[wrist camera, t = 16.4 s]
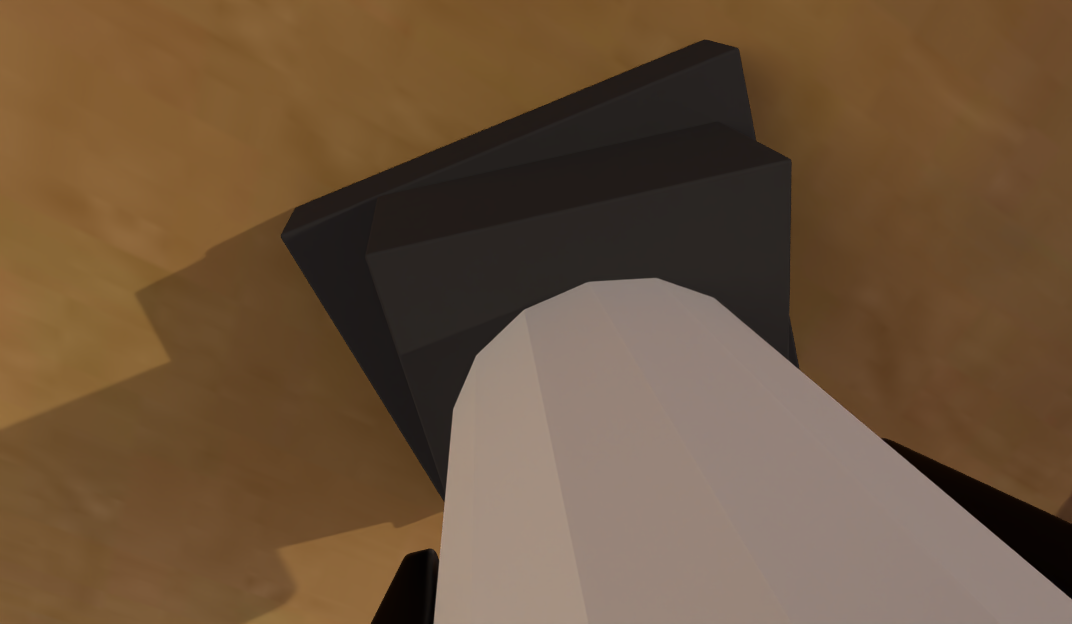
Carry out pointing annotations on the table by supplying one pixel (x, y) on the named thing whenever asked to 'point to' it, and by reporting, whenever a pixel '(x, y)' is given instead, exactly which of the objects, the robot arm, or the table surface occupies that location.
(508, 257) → the black pad
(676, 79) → the base pad
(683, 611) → the shot glass
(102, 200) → the table surface
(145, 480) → the table surface
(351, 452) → the table surface
